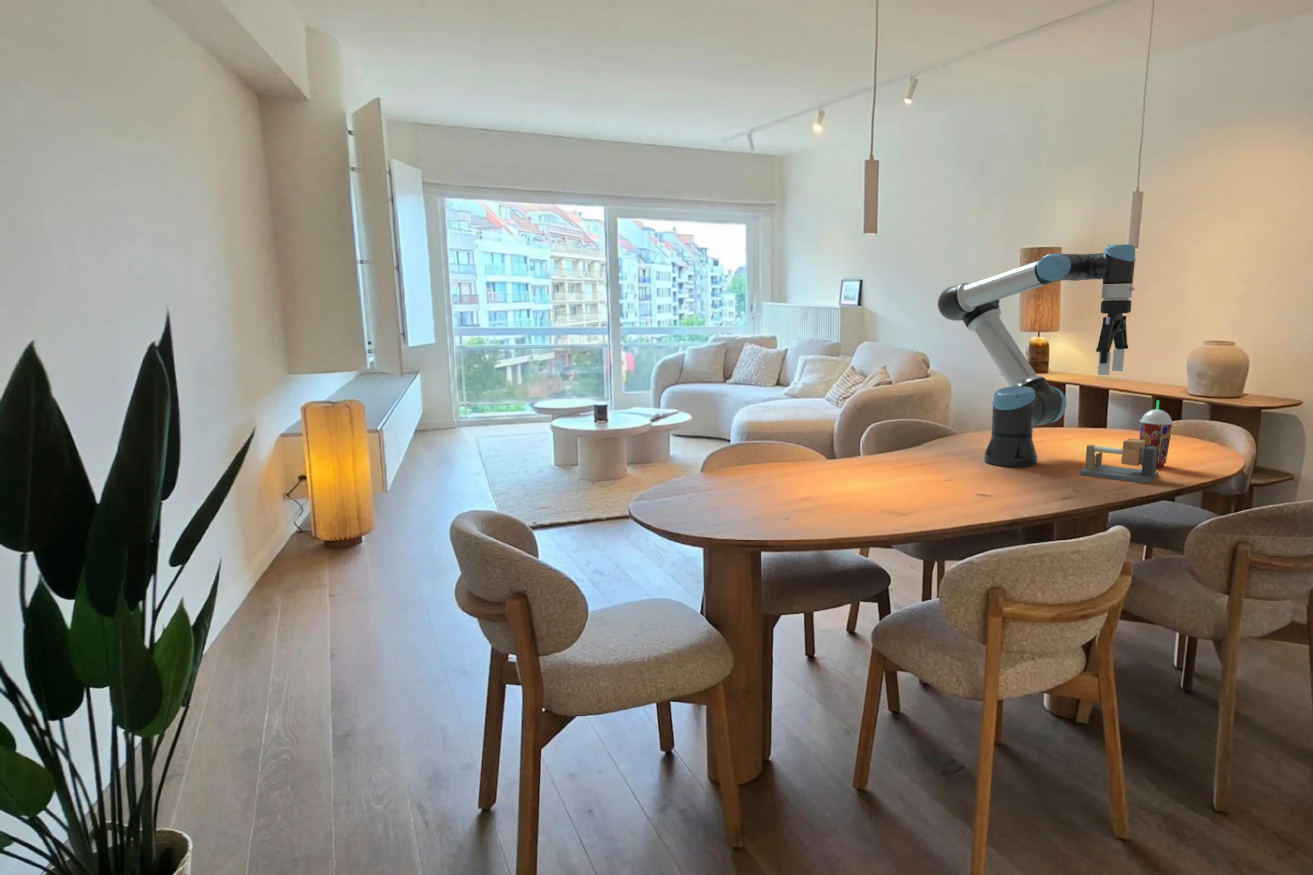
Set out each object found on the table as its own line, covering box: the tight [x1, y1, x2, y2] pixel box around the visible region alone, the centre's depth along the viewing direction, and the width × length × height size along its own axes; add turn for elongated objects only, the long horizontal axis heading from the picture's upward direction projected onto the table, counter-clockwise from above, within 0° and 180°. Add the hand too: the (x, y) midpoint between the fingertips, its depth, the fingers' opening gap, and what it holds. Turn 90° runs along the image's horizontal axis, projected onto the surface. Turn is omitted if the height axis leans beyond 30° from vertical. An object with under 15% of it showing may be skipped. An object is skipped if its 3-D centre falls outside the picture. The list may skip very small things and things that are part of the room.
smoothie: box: [1139, 400, 1174, 469], centre depth 225 cm, size 8×8×20 cm
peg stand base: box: [1079, 444, 1160, 484], centre depth 216 cm, size 17×12×9 cm
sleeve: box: [1120, 438, 1145, 467], centre depth 213 cm, size 4×6×6 cm, turn 134°
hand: (1110, 373), depth 221 cm, fingers open, 13 cm apart
